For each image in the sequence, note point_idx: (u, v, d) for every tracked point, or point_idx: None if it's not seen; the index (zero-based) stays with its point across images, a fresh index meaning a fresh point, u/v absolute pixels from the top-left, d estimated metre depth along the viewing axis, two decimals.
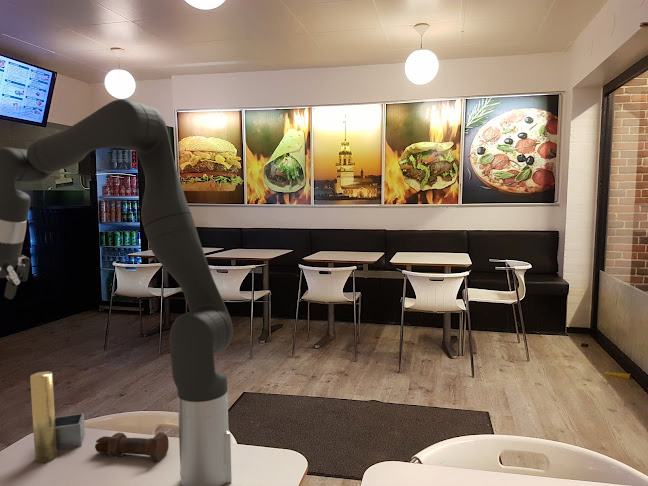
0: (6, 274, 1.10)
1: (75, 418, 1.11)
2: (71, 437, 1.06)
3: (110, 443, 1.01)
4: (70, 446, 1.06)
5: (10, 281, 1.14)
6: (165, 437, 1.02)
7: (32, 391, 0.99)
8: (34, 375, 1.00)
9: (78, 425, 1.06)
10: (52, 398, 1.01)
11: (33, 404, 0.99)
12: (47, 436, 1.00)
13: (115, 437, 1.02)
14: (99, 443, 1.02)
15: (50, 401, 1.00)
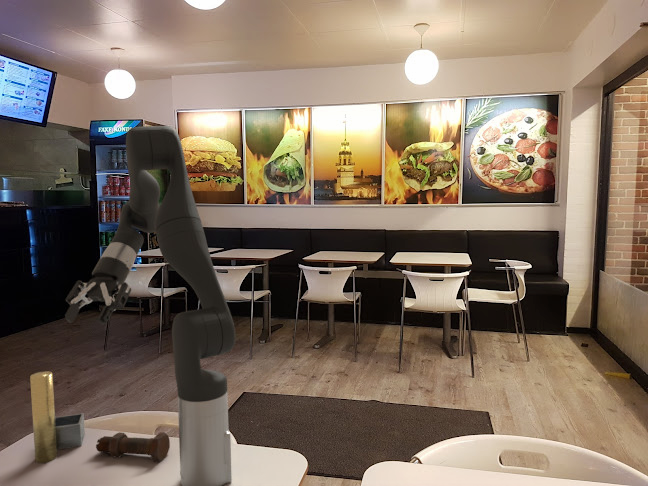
0: (101, 293, 1.12)
1: (75, 418, 1.11)
2: (71, 437, 1.06)
3: (111, 443, 1.01)
4: (70, 446, 1.06)
5: None
6: (166, 437, 1.02)
7: (32, 391, 0.99)
8: (34, 375, 1.00)
9: (78, 425, 1.06)
10: (52, 398, 1.01)
11: (33, 404, 0.99)
12: (47, 436, 1.00)
13: (116, 437, 1.02)
14: (100, 443, 1.02)
15: (50, 401, 1.00)
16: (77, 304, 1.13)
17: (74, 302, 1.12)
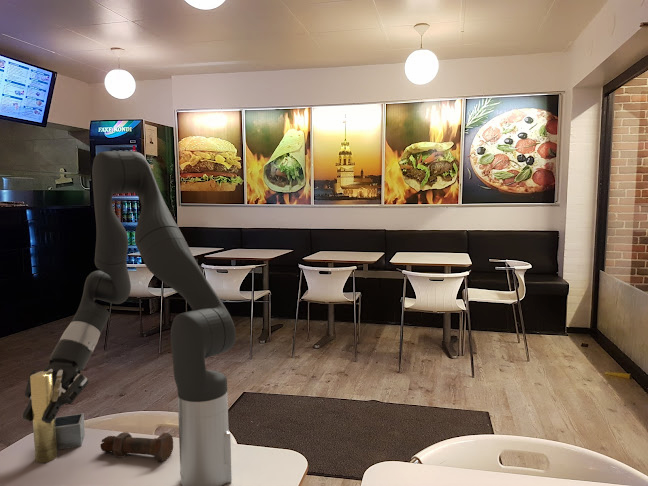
0: (55, 382, 1.03)
1: (75, 418, 1.11)
2: (71, 437, 1.06)
3: (115, 443, 1.01)
4: (70, 446, 1.06)
5: None
6: (170, 437, 1.02)
7: (32, 391, 0.99)
8: (34, 375, 1.00)
9: (78, 425, 1.06)
10: (52, 398, 1.01)
11: (33, 404, 0.99)
12: (47, 436, 1.00)
13: (120, 437, 1.02)
14: (104, 442, 1.03)
15: (50, 401, 1.00)
16: None
17: None
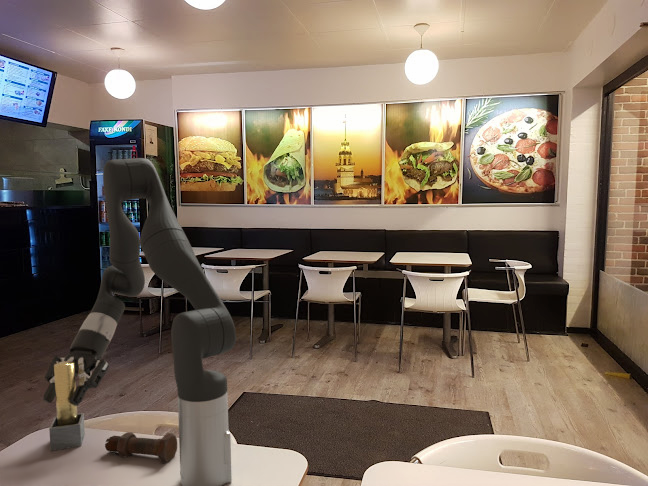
0: (78, 369, 1.10)
1: None
2: (71, 437, 1.06)
3: (119, 443, 1.01)
4: (70, 446, 1.06)
5: None
6: (174, 438, 1.02)
7: (56, 379, 1.06)
8: (58, 364, 1.07)
9: (78, 425, 1.06)
10: (74, 385, 1.08)
11: (57, 391, 1.06)
12: (70, 421, 1.07)
13: (124, 437, 1.02)
14: (109, 442, 1.03)
15: (72, 388, 1.07)
16: None
17: (53, 381, 1.09)
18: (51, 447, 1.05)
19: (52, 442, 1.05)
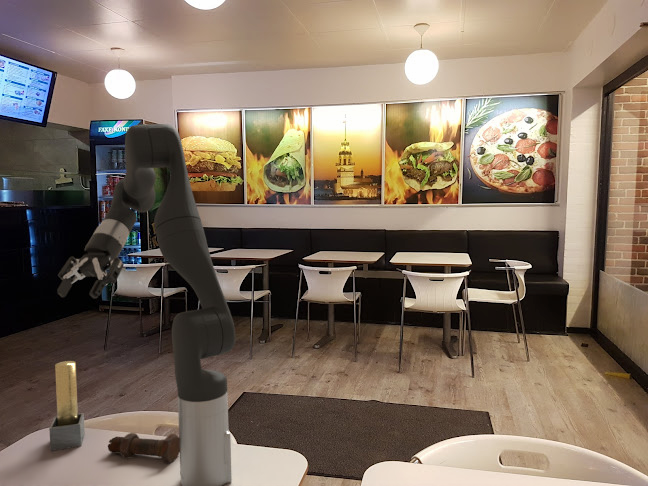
0: (94, 268, 1.13)
1: None
2: (71, 437, 1.06)
3: (122, 444, 1.01)
4: (70, 446, 1.06)
5: None
6: (177, 439, 1.02)
7: (57, 379, 1.06)
8: (59, 364, 1.07)
9: (78, 425, 1.06)
10: (75, 385, 1.08)
11: (58, 391, 1.06)
12: (70, 421, 1.07)
13: (127, 438, 1.02)
14: (112, 443, 1.02)
15: (73, 388, 1.07)
16: (69, 279, 1.13)
17: (66, 277, 1.12)
18: (51, 447, 1.05)
19: (52, 442, 1.05)
